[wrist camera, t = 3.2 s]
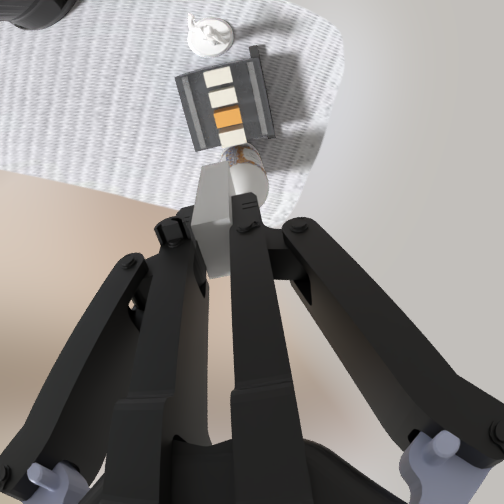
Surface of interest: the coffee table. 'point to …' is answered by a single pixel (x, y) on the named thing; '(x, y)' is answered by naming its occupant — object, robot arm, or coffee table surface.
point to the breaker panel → (249, 102)
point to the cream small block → (232, 136)
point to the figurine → (209, 36)
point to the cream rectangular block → (218, 76)
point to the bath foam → (247, 170)
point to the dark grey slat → (255, 54)
